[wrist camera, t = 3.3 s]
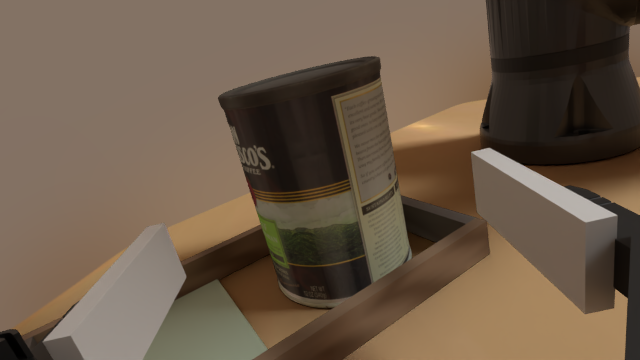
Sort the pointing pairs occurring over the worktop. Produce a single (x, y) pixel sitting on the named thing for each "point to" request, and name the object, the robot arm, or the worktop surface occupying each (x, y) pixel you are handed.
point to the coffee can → (322, 177)
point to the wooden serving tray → (365, 306)
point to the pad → (205, 329)
